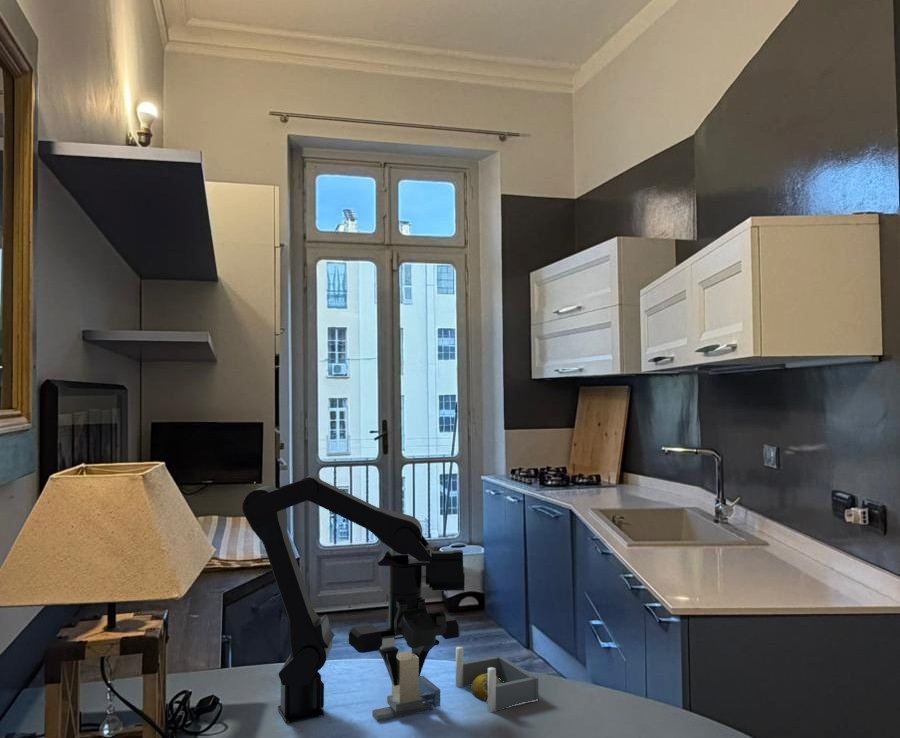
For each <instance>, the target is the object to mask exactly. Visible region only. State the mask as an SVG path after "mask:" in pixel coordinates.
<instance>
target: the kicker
mask: <svg viewBox="0 0 900 738" xmlns="http://www.w3.org/2000/svg"><path fill="white" fill-rule="evenodd" d="M396 659H397V686H394V685H393V684H392V683H391V695H390V694H389V695H387V697H386V698H387V700H386V702H387V703H386V704H387V705H389V707H390V706H391V707H392V708H393V709H394V710H395V711H396V712H399V711H404V710H409V709H413V708H418V707H423V701H428V702H429V703H431V704H432V707H434V708H438V707H441V689H440V688H439V686H437V685H435V684H434V682H432V681H431V680H429V679H428V678H427V677H426V676H424V675H420V676H419V657H417V656H416V655H415V654H414V653H412V650H410V651H405V652H399V653H397V656H396Z"/></svg>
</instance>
